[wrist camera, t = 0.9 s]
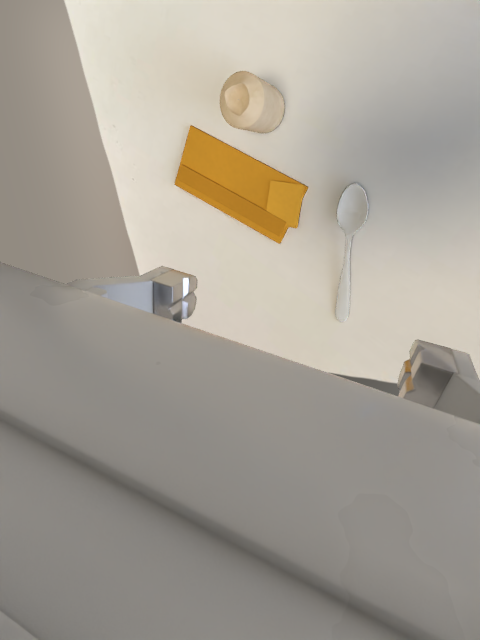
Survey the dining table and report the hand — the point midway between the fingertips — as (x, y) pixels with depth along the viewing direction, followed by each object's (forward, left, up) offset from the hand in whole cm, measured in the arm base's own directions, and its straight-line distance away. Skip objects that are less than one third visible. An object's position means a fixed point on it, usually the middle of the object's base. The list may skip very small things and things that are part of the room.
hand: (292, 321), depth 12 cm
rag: (+6, -18, -39) cm, 43 cm away
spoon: (+8, +2, -39) cm, 40 cm away
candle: (-4, -18, -39) cm, 43 cm away
